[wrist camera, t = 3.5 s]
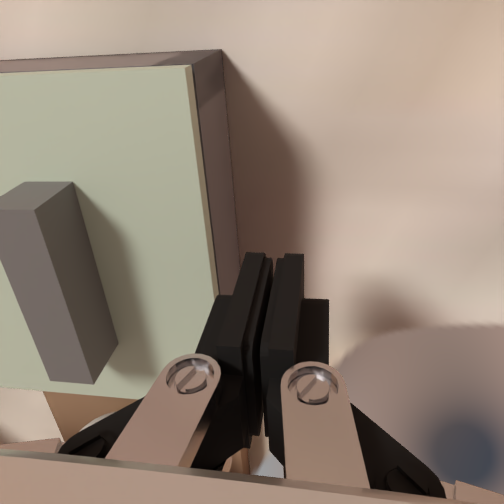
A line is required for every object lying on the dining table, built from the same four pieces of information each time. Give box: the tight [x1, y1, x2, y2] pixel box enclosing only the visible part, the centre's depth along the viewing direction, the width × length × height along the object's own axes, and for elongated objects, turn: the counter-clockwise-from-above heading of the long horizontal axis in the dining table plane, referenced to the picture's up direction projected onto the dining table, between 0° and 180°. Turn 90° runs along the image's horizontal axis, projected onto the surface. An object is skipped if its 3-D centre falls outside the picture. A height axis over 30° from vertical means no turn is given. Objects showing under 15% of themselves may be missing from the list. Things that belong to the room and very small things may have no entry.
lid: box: [0, 65, 219, 399], centre depth 14 cm, size 12×12×3 cm
